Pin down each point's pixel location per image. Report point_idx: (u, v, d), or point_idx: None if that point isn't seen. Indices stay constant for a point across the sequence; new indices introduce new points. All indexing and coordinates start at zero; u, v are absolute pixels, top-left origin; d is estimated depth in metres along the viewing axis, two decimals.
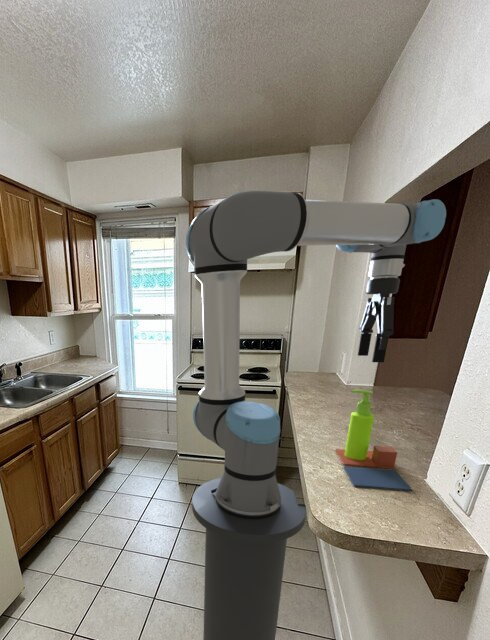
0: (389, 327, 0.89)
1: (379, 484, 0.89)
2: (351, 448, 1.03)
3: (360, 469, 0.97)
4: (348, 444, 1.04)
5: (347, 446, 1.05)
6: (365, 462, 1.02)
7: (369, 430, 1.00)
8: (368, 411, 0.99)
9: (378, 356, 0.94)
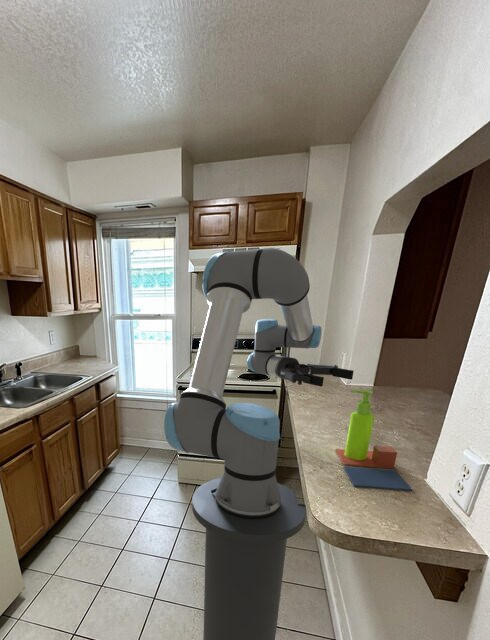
0: None
1: (379, 484, 0.89)
2: (351, 448, 1.03)
3: (360, 469, 0.97)
4: (348, 444, 1.04)
5: (347, 446, 1.05)
6: (365, 462, 1.02)
7: (369, 430, 1.00)
8: (368, 411, 0.99)
9: None
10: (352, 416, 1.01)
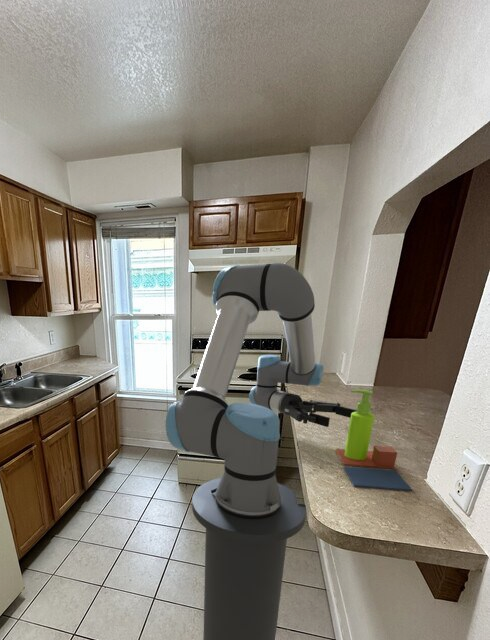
0: None
1: (379, 484, 0.89)
2: (351, 448, 1.03)
3: (360, 469, 0.97)
4: (348, 444, 1.04)
5: (347, 446, 1.05)
6: (365, 462, 1.02)
7: (369, 430, 1.00)
8: (368, 411, 0.99)
9: None
10: (352, 416, 1.01)
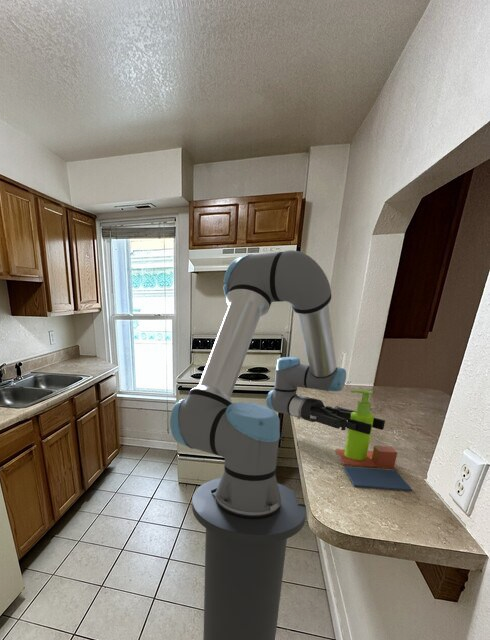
0: None
1: (379, 484, 0.89)
2: (351, 448, 1.03)
3: (360, 469, 0.97)
4: (348, 444, 1.04)
5: (347, 446, 1.05)
6: (365, 462, 1.02)
7: None
8: (368, 411, 0.99)
9: None
10: (352, 416, 1.01)
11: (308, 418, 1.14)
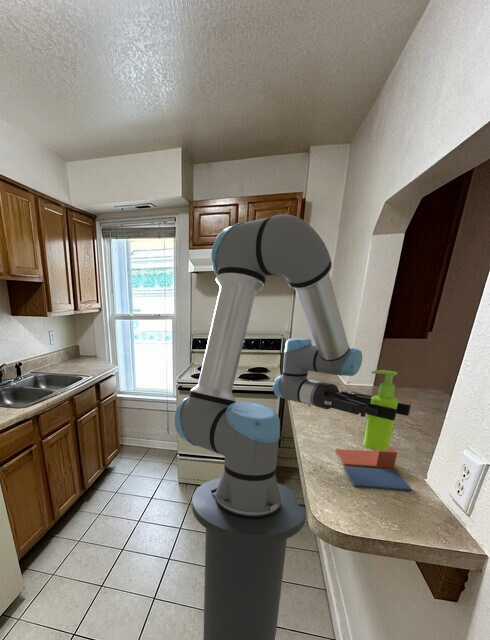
0: None
1: (379, 484, 0.89)
2: (371, 436, 0.91)
3: (360, 469, 0.97)
4: (368, 432, 0.92)
5: (367, 435, 0.93)
6: (365, 462, 1.02)
7: None
8: (392, 394, 0.88)
9: None
10: (373, 400, 0.90)
11: (321, 405, 1.02)
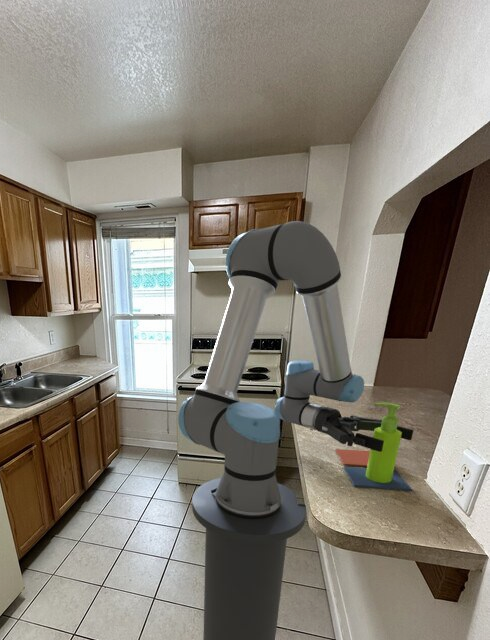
0: None
1: (379, 484, 0.89)
2: (374, 469, 0.90)
3: (360, 469, 0.97)
4: (370, 464, 0.91)
5: (369, 467, 0.91)
6: (365, 462, 1.02)
7: (396, 449, 0.87)
8: (395, 427, 0.86)
9: None
10: (376, 433, 0.88)
11: None
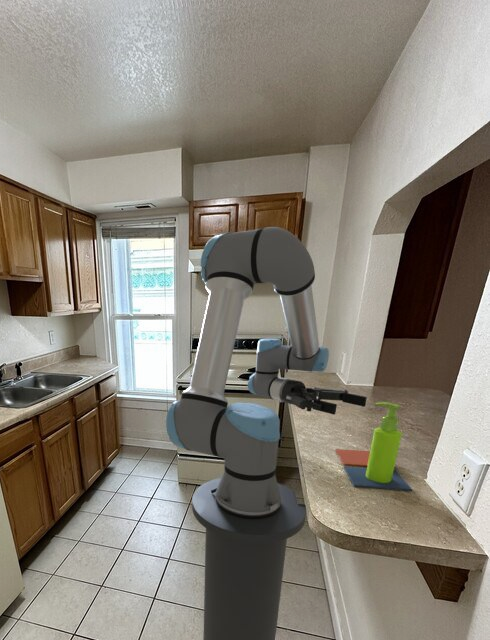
0: None
1: (379, 484, 0.89)
2: (374, 469, 0.90)
3: (360, 469, 0.97)
4: (371, 464, 0.91)
5: (369, 467, 0.91)
6: (365, 462, 1.02)
7: (396, 449, 0.87)
8: (395, 427, 0.86)
9: None
10: (376, 433, 0.88)
11: None
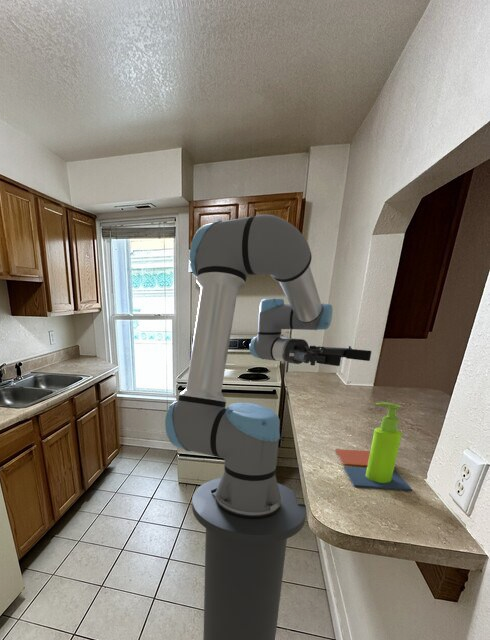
0: None
1: (379, 484, 0.89)
2: (374, 469, 0.90)
3: (360, 469, 0.97)
4: (371, 464, 0.91)
5: (369, 467, 0.91)
6: (365, 462, 1.02)
7: (396, 449, 0.87)
8: (395, 427, 0.86)
9: None
10: (376, 433, 0.88)
11: (292, 359, 1.08)
